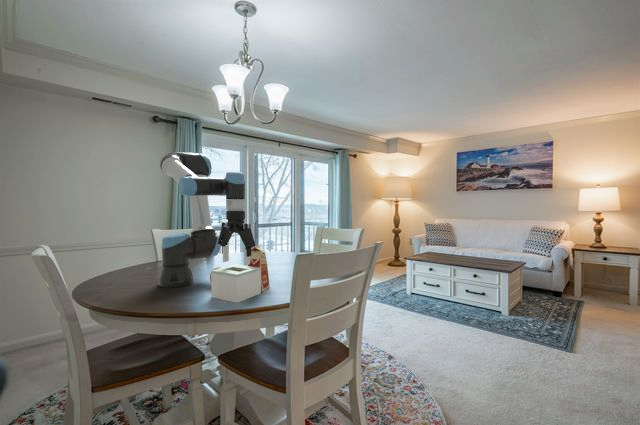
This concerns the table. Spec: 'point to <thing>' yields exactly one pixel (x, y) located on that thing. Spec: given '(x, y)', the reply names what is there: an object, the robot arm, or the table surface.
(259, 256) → the milk carton
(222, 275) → the coin box
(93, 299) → the table surface
